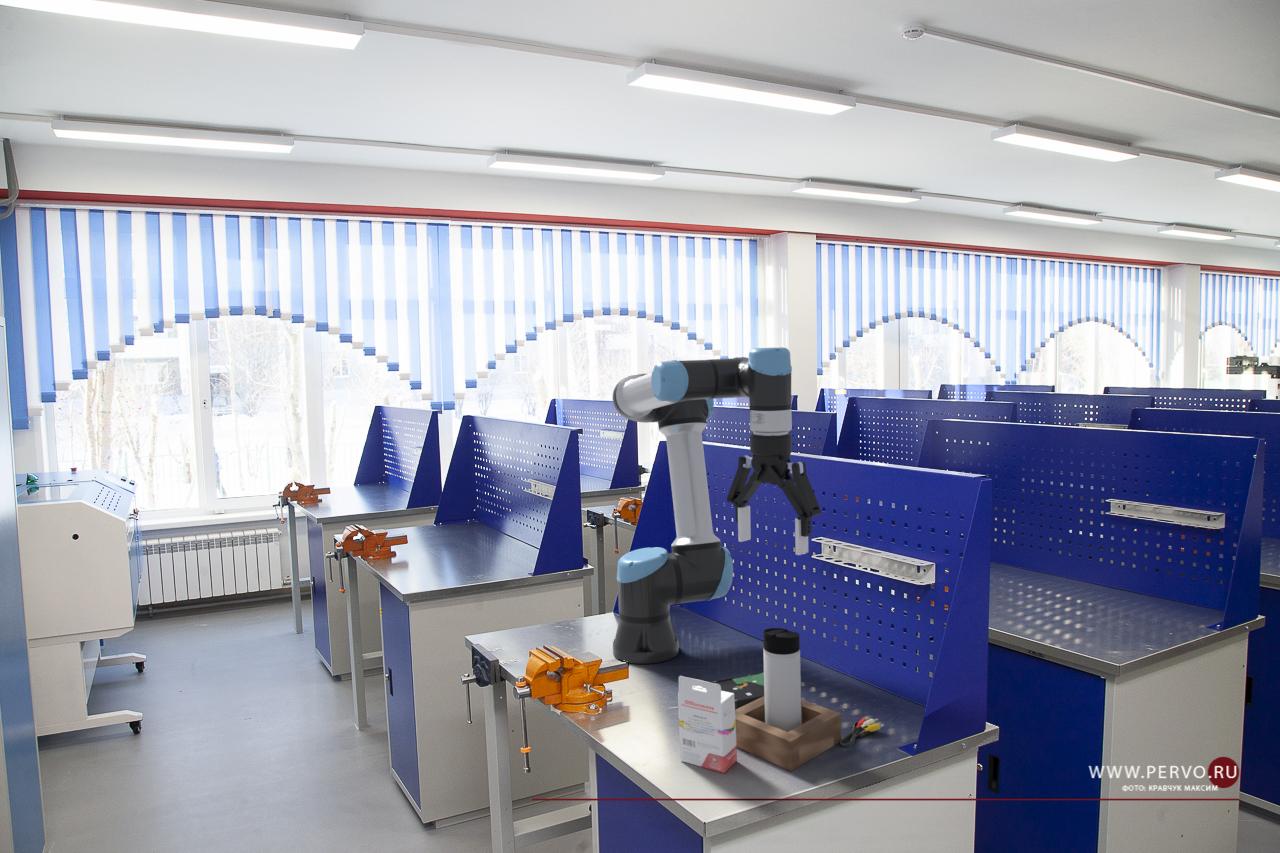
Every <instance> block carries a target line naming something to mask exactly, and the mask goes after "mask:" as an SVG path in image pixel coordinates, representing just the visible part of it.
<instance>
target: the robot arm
mask: <svg viewBox="0 0 1280 853" xmlns="http://www.w3.org/2000/svg"><path fill="white" fill-rule="evenodd" d="M791 363H792V362H791V352H790V350H789V349H788V348H787V347H783V346H782V347H755V348H751V349H750V351H749V353H748V357H745V356H742V357H740V356H739V357H733V358H713V359H698V360H697V359H696V360H693V359H690V360H676V359H671V360H667V361H659V362H657V363H655V364H654V366H653V369H652V370H651V372H649V373H639V374H633V375H632V374H631V375H629V376H627V377H624V378H622V379H621V380H619V382H617V384H616V385H615V386H614V389H613V392H612V403H613V406H614V408H615V410H616V411H617V413H618V414H619V415H621V417H624V418H626V420H630V421H633V422H636V423H657V424H658V426H657V427H658V432H660V433H661V434H662V435H664V437H665V440H666V441H665V442H666V447H667V448H666V449H667V451H666V452H667V457H668V468H669V476H670V487H671V496H672V497H671V498H672V503H673V505H672V506H673V516H674V523H675V532H676V534H675V535H676V537H675V539H674V540H673V542H672V543H671V552H670V553H669V552H668V550H667V549H666V548H663V547H659V546H655V547H649V546H648V547H643V548H638V549H634V550H631V551H630V552H626V553H625V554H624V555H622V556H621V557H620V558H619V559H618V561H617V573H616V581H617V596H618V597H617V598H618V618H619V620H618V624H617V628H616V633H615V637H614V639H613V641H612V654H613V656H614V657H615V658H616V659H617V660H619V659H622V660H625V661H628V662H629V664H636V665H637V664H639V665H643V664H644V665H650V664H658V663H662V662H667V661H669V660H671V659H673V658H675V657H676V656H677V655H678V654H679V651H680V650H679V648H680V646H679V640H678V637H677V634H676V631H675V628H674V626H673V623H672V621H671V613H670V608H671V606H672V605H679V604H680V605H681V604H686V603H687V604H688V603H694V602H702V601H711V600H715V599H719V598H722V597H725V596H726V595H727V594H728V592H729V591H730V588H731V586H732V582H733V577H734V564H733V559H732V556H731V552H730V551H729V549H728V548H727V547H725V546H722V542H721V539H720V538H719V537H718V536H716V535H715V533H714V529H713V523H712V521H713V520H712V512H711V505H710V504H711V503H710V494H709V487H708V486H709V484H708V478H707V477H708V476H707V469H706V460H705V459H706V458H705V452H704V443H703V442H704V441H703V431H704V430H705V428H706V427H707V426H708V422H707V421H708V420H709V419H710V418H711V417H712V416H713V414H714V405H715V401H714V400H715V399H733V398H735V399H736V398H748V399H749V400H748V401H749V407H748V408H749V430H750V431H751V432H752V433H751V434H750V436H749V450H750V454H751V455H749V454H746V455H742V456H739V457H738V463H737V464H738V466H737V470H736V473H735V474H734V477H733V480H732V483H731V485H730V489H729V492H728V494H727V496H726V501H727V502H728V503H731V504H733V506H734V507H735V508H734V509H735V522H736V523H737V531H738V532H737V538H738V540H737V541H738V542H740V543H743V542H746V541H749V540H750V541H751V539H752V538H751V537H752V535H751V531H752V529H751V525H752V524H751V506H750V505H749V503H748V502H749V501H750V500H751V498H752V497H753V496H754V494H755V493H756V492H757V490H758V488H759V487H760V485H761V484H766V483H767V484H770V485H777V487H778V488H779V489H781V491H782V492H783V493H784V495H785V497H786V499H787V501H789V503H790V505H791V506H792V507H793V509H794V511H795V513H796V515H797V516H798V517H795V518H794V527H795V528H794V533H795V534H794V535H795V536H794V539H795V545H794V546H795V555H796V556H802V555H804V554H808V553H809V536H811V535H812V518H813V517H815V516H820V515H821V514H822V509H821V508H820V504H819V501H818V499H817V496H816V495H815V491H814V490H813V487H812V484H811V482H810V480H809V477H808V474H807V468H806V466H807V465H806V462H805V461H803V460H802V461H796V462H791V458H790V457H791V454H792V451H793V450H792V449H793V443H792V442H793V440H792V438H793V435H792V434H791V433H789V432H790V431H792V429H793V426H792V424H793V420H792V418H793V417H792V416H793V414H792V371H793V367H792V364H791ZM752 469H753V472H752V473H751V475H750V472H751V471H752ZM791 474H792V475H791ZM747 480H748V481H747ZM628 662H627V663H628Z"/></svg>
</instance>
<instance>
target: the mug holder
mask: <svg viewBox="0 0 1280 853" xmlns="http://www.w3.org/2000/svg"><path fill="white" fill-rule="evenodd" d="M801 714H802V725H800V726H798V727H797V728H795V729H793V730H791V731H789V732H786V731H783V730H781V729H779V728H776V727H774V726H771V725H769V724H766V723H765V696H763V697H761V698H759V699H757V700H755V701H753V702H750V703H748V704H746V705H744V706H742V707H740V708H738V709H736V710H735V721H736V746H737V748H738V749H741V750H742V751H745V752H747V753H750V754H751V755H753V756H756V757H758V758H760V759H763V760H765V761H768V762H769V763H772V764H774V765H776V766H779V767H780V768H782V769H785V770H787V771H789V772H793V771H794V770H796V769H797V768H799V767H801V766H802V765H804V764H807V763H808V762H809V761H811V760H813V759H814V758H816V757H818V756H820V755H821V754H822V753H824V752H826V751H828V750H829V749H831V748H832V747H834V746H836V745H838V744H840V740H841V739H842V713H841V712H838V711H835V710H833V709H830V708H827V707H824V706H821V705H819V704H817V703H813V702H810V701H808V700H804V699H802V698H801Z"/></svg>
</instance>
